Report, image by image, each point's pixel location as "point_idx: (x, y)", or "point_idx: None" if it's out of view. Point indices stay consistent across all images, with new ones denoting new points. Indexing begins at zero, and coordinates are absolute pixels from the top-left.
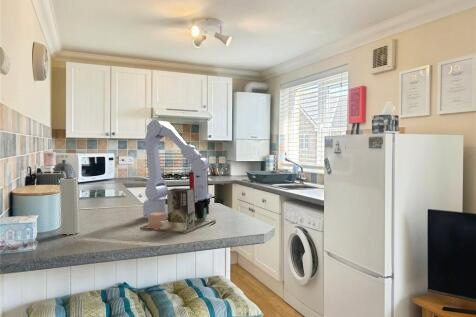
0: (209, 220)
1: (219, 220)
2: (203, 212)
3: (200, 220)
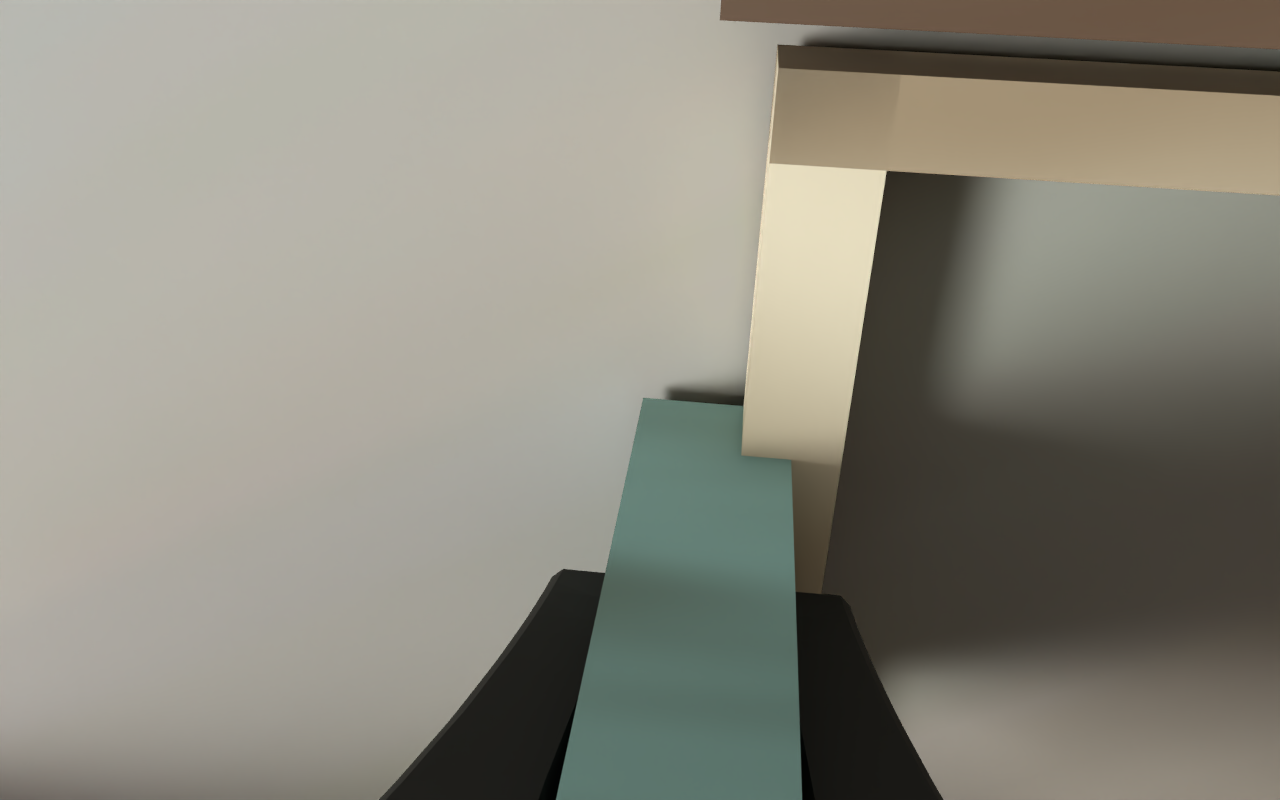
0: (762, 253)
1: (127, 48)
2: (787, 746)
3: (821, 585)
